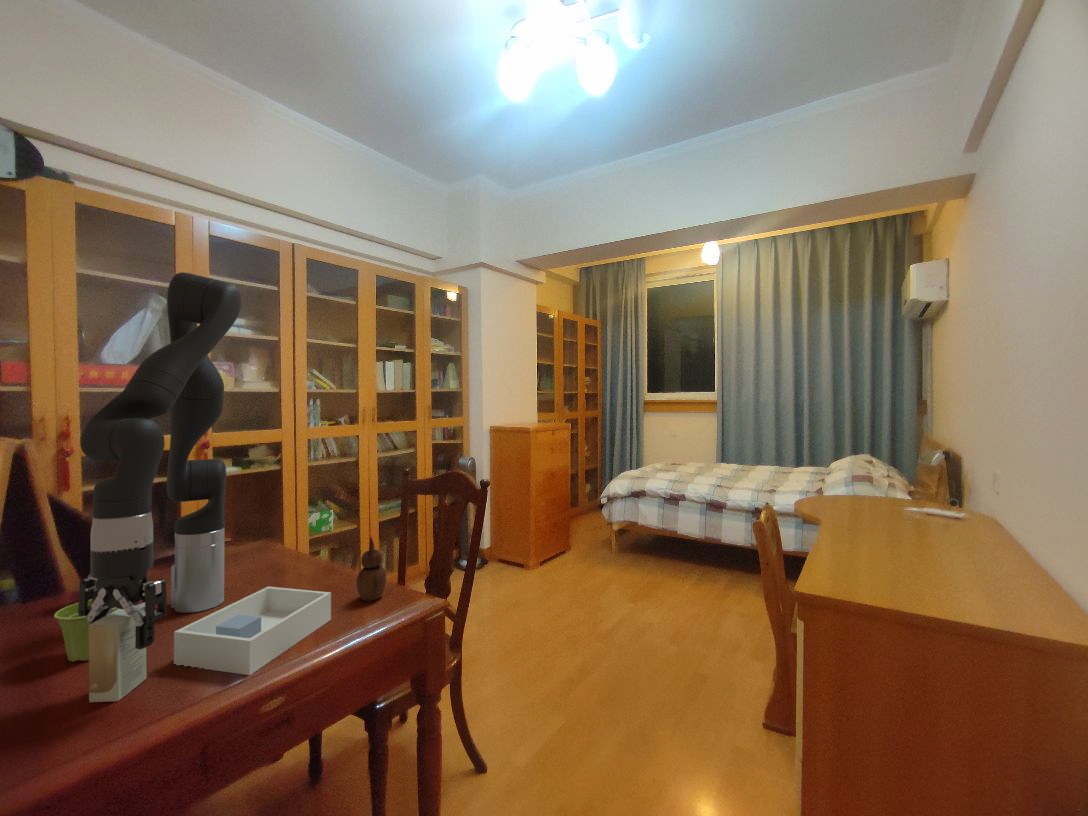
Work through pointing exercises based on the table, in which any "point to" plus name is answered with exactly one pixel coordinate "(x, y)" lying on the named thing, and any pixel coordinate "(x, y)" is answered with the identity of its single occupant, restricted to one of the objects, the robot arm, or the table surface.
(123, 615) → the skincare box
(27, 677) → the table surface
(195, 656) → the tote
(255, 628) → the cube
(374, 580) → the wooden figurine
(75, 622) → the plant pot
